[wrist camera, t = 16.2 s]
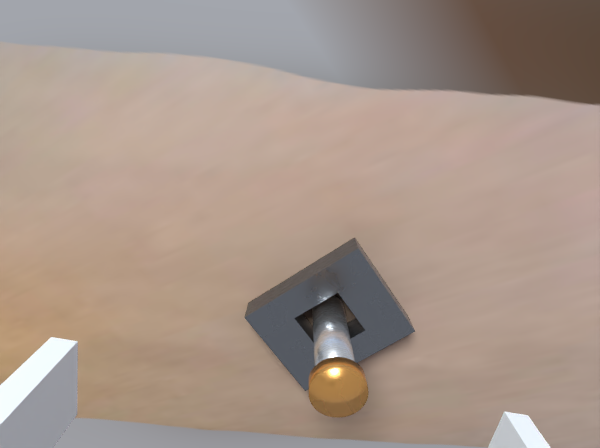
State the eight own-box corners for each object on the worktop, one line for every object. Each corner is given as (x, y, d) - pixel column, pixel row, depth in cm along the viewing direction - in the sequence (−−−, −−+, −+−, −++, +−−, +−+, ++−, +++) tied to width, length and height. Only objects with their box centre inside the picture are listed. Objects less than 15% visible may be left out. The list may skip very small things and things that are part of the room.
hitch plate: (248, 302, 43) (244, 317, 40) (354, 237, 41) (358, 248, 38) (305, 372, 46) (305, 390, 43) (407, 315, 43) (415, 331, 41)
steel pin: (298, 304, 43) (297, 387, 31) (334, 282, 42) (347, 359, 30) (322, 334, 44) (329, 426, 32) (357, 313, 43) (379, 400, 31)
